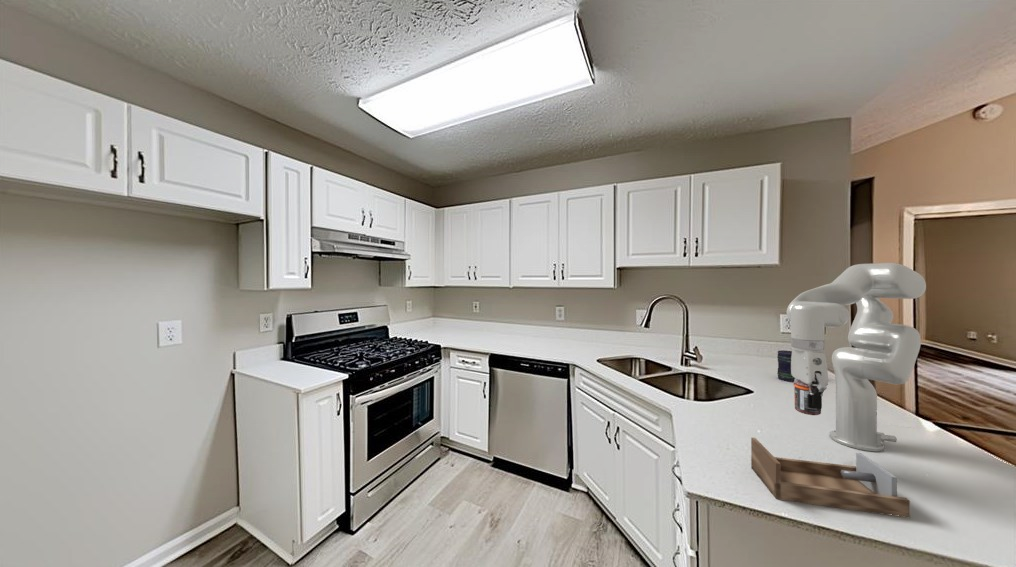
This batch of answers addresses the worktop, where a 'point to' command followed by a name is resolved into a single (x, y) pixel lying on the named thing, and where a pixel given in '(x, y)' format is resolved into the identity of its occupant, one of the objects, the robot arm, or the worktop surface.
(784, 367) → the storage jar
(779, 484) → the pusher lane
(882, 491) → the pusher plate
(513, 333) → the worktop surface
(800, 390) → the supplement bottle
